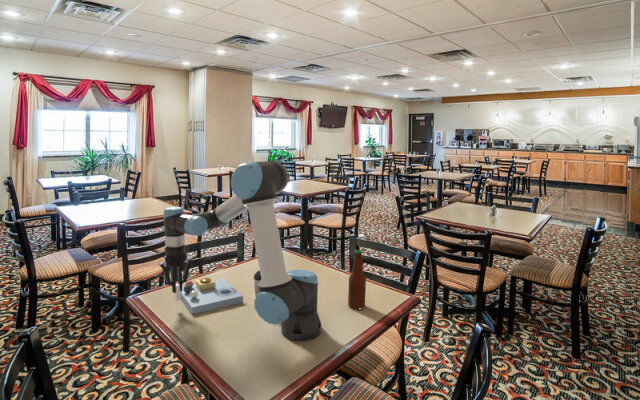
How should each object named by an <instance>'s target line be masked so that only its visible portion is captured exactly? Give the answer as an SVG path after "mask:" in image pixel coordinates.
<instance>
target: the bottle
mask: <svg viewBox="0 0 640 400" xmlns="http://www.w3.org/2000/svg"><path fill="white" fill-rule="evenodd" d="M362 257H363V251H362V250H360V249H356V250H354V259H353V264H352V273H350V275H349V277H348V295H347V297H348V299H347V305H348V308H350V307H351V308H350V309H352V308H355V309H359V308H363V307H364V306H366V289H367V288H366V287H367V286H366V284H367V278H366V276H365V274H364V265H363V258H362ZM364 308H365V307H364ZM364 308H363V309H364ZM355 309H354V310H355Z"/></svg>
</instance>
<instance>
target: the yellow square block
mask: <svg viewBox="0 0 640 400" xmlns="http://www.w3.org/2000/svg"><path fill="white" fill-rule="evenodd" d="M195 284H196V287H197V288H198V289H199V291H205V290H210V289H214V288H216V285H215V280H214V279H213V278H212V277H202V278H201V279H195Z"/></svg>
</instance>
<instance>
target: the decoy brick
mask: <svg viewBox="0 0 640 400" xmlns="http://www.w3.org/2000/svg"><path fill="white" fill-rule="evenodd" d="M184 283H185V285H184V286H186V285H190V286H191V287H192V286H193V285H194V282H193V281H192V280H187V282H184Z"/></svg>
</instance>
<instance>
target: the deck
mask: <svg viewBox="0 0 640 400" xmlns="http://www.w3.org/2000/svg"><path fill="white" fill-rule="evenodd" d="M214 281H215V285H216V288H214V289H210V290H205V291H199V289H198V288H197V287H196V283H195V284H193V286H192V290H191V292H192V291H197V293H198V297H197V298H196V299H191V298H190V293H191V292H189V293H185V292H184V290H183V289H184V287H185V285H184V286H182V291H181V292H180V300H182V302H183V304H184V305H185V306H186V307H187V309H188V310H189V312H190V313H191V315H196V314H200V313H203V312H208V311H211V310H212V311H213V310H217V309H220V308H225V307H229V306H232V305H237V304H241V303H244V296H243V294H241V292H239V291H238V290H237V289H236V288H235V287H234V286H233V285H232V284H230V283H229V282H228V281H227V280H226V279H225V278H222V279H216V280H214Z"/></svg>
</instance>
